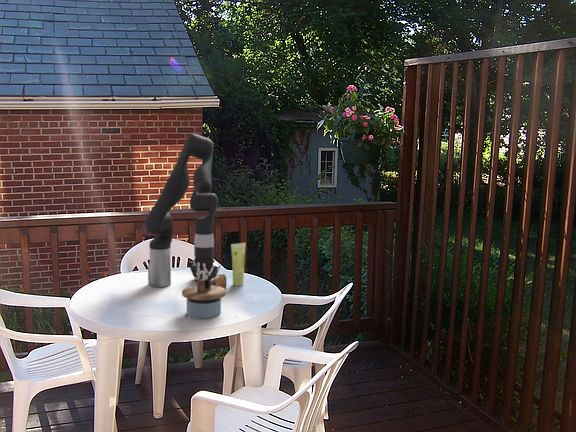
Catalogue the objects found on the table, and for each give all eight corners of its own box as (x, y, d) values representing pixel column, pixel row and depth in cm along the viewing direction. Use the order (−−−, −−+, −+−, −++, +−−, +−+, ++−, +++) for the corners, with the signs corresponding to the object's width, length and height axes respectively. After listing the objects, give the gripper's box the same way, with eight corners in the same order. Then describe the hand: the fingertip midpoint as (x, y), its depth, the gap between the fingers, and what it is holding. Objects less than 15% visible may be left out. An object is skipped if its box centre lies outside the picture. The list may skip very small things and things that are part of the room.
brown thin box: (216, 300, 246) (216, 281, 245) (209, 300, 247) (209, 280, 245) (227, 290, 261) (227, 272, 259) (220, 290, 261) (220, 271, 260)
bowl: (180, 315, 227) (180, 300, 226) (199, 306, 238) (199, 291, 237) (208, 321, 221) (208, 305, 220) (226, 311, 233) (227, 296, 232)
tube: (240, 287, 266) (241, 244, 263) (230, 285, 268) (230, 243, 265) (245, 283, 272) (245, 242, 269) (235, 282, 273) (235, 241, 270)
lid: (173, 296, 225) (172, 280, 224) (198, 285, 240) (198, 270, 239) (210, 302, 217) (210, 287, 216) (234, 291, 232) (234, 276, 231)
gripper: (183, 244, 225) (183, 288, 228) (214, 248, 219) (214, 293, 222) (194, 241, 232) (194, 283, 234) (224, 245, 226) (224, 288, 229)
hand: (204, 288), depth 228 cm, fingers closed on lid, 2 cm apart
